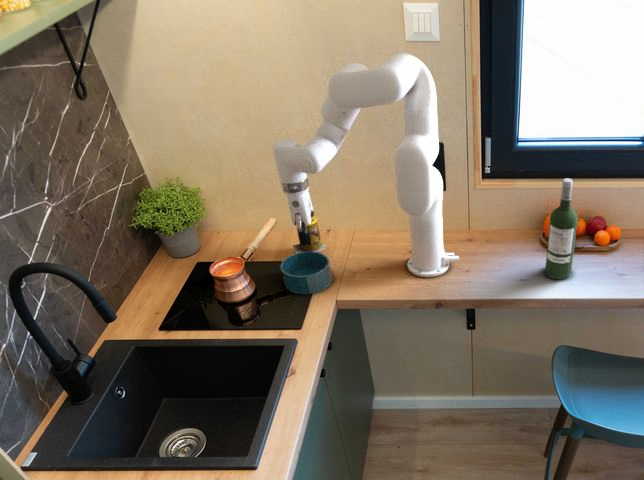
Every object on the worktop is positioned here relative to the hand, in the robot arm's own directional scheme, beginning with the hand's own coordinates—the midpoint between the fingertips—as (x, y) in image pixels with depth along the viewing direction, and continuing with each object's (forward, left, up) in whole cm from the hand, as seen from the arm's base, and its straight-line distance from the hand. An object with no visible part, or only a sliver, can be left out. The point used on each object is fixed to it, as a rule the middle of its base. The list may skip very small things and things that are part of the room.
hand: (307, 238), depth 183 cm
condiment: (0, 0, -3) cm, 3 cm away
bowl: (-1, +16, -5) cm, 17 cm away
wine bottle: (-75, +18, -5) cm, 78 cm away
